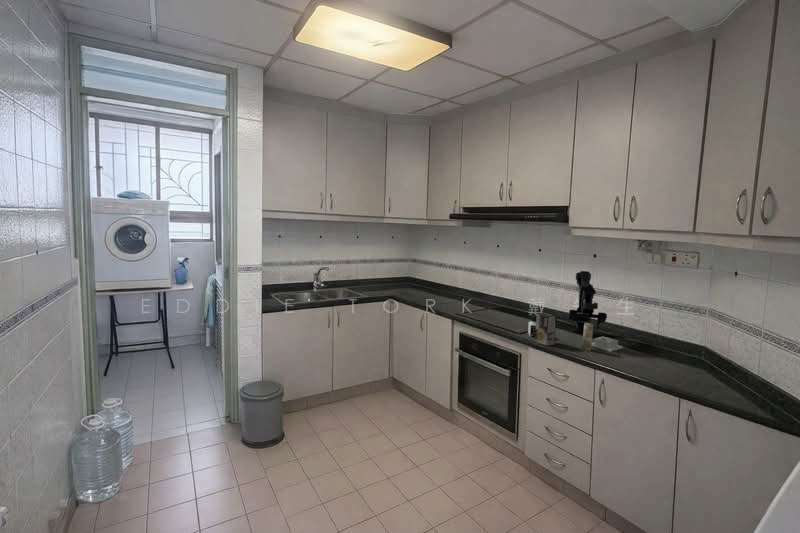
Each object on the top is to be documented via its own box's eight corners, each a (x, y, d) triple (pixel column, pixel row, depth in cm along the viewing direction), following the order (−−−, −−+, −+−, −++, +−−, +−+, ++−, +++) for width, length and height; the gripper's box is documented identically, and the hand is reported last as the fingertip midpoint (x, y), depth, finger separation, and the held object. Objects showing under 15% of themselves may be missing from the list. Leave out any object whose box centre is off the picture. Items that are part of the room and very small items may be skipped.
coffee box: (555, 344, 219) (557, 316, 217) (546, 345, 217) (548, 317, 215) (542, 339, 228) (545, 312, 226) (534, 340, 225) (536, 313, 223)
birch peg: (580, 349, 213) (582, 323, 211) (585, 347, 216) (587, 322, 214) (588, 351, 210) (590, 325, 208) (592, 350, 212) (595, 324, 210)
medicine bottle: (529, 336, 233) (531, 316, 231) (527, 333, 240) (529, 313, 238) (542, 337, 232) (544, 317, 230) (540, 333, 239) (541, 314, 237)
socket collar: (589, 345, 220) (589, 338, 219) (601, 342, 226) (601, 335, 226) (610, 351, 210) (611, 344, 209) (622, 348, 216) (623, 341, 216)
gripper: (570, 295, 220) (570, 319, 211) (608, 298, 214) (609, 323, 205) (568, 306, 229) (568, 329, 220) (604, 309, 223) (605, 334, 214)
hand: (587, 329), depth 214 cm, fingers open, 9 cm apart
